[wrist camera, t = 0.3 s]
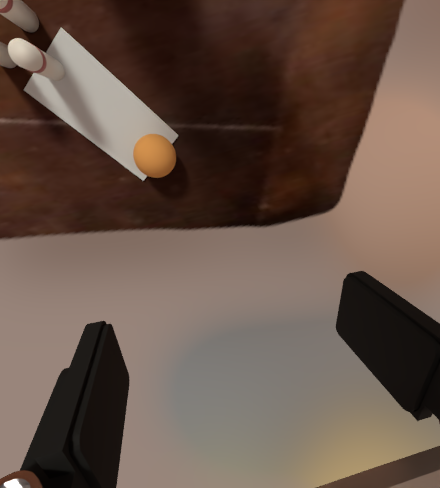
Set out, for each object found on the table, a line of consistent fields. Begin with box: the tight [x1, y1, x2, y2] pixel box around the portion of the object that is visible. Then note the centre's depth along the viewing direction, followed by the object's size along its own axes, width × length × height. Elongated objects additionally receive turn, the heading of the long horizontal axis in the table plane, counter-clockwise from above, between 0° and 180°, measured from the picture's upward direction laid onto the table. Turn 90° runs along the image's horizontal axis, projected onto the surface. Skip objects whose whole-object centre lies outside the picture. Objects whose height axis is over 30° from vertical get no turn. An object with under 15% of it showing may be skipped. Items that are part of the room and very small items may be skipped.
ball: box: [133, 134, 176, 178], centre depth 36 cm, size 6×6×6 cm
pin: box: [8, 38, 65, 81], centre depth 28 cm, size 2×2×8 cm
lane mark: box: [24, 28, 179, 181], centre depth 35 cm, size 18×9×1 cm, turn 47°
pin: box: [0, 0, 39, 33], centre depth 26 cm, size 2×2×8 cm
